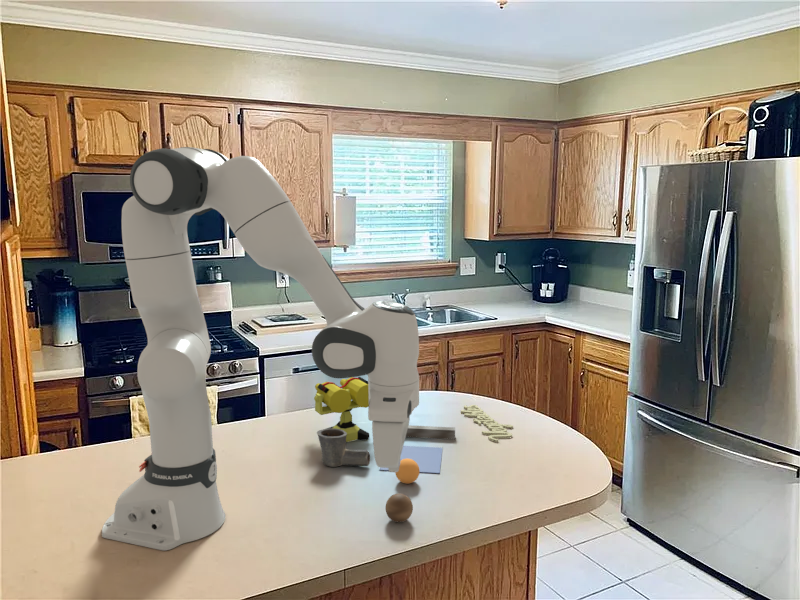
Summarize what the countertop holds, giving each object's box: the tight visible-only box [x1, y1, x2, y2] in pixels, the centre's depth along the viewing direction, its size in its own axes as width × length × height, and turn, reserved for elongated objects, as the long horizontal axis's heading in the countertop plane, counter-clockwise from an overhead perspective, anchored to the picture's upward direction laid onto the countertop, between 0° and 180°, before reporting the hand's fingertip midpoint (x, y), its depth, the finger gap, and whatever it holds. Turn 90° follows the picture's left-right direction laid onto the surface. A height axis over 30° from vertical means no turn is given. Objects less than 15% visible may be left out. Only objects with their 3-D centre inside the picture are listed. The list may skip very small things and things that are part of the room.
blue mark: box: [379, 445, 443, 475], centre depth 147 cm, size 14×14×1 cm
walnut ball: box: [385, 492, 414, 523], centre depth 120 cm, size 5×5×5 cm
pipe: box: [316, 427, 371, 468], centre depth 144 cm, size 6×13×8 cm, turn 78°
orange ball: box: [394, 458, 420, 485], centre depth 135 cm, size 5×5×5 cm
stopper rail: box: [405, 424, 456, 440], centre depth 161 cm, size 20×2×2 cm, turn 84°
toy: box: [313, 376, 370, 443], centre depth 161 cm, size 17×14×15 cm
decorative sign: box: [460, 404, 514, 443], centre depth 171 cm, size 26×1×10 cm
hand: (394, 468), depth 108 cm, fingers closed
